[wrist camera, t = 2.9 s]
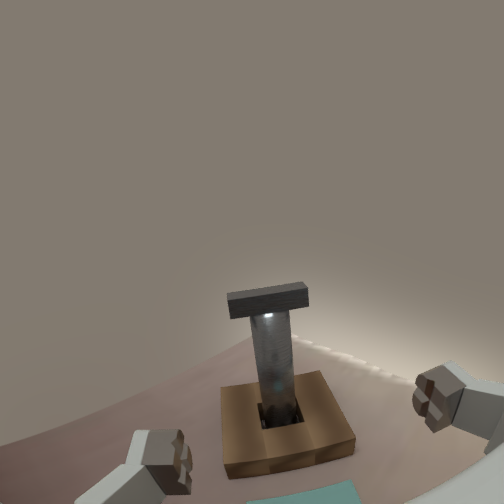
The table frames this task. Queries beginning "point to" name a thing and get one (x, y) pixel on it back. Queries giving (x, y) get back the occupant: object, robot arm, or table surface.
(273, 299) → the gunmetal T-key
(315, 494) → the teal rubber mat
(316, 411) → the walnut key-slot block
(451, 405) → the robot arm
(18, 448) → the table surface
